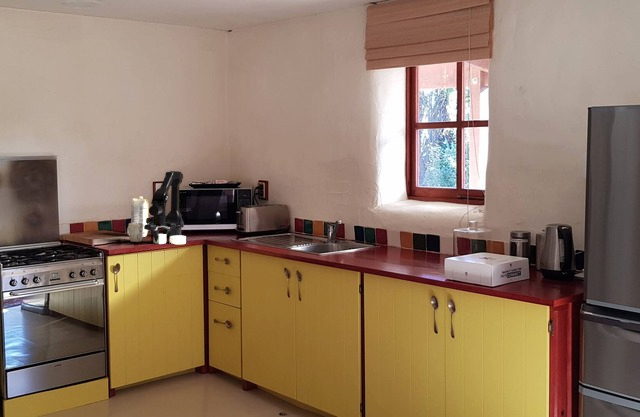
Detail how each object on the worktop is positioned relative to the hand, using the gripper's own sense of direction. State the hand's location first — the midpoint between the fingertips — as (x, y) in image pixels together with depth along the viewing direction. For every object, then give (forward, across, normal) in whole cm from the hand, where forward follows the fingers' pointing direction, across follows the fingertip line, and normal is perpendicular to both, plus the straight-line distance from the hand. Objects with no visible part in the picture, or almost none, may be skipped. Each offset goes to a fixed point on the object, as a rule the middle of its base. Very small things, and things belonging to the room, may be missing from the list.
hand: (159, 241), depth 426 cm
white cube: (+1, 0, 0) cm, 1 cm away
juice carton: (+1, -7, -27) cm, 28 cm away
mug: (+1, +6, -16) cm, 17 cm away
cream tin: (+1, -8, +6) cm, 10 cm away
